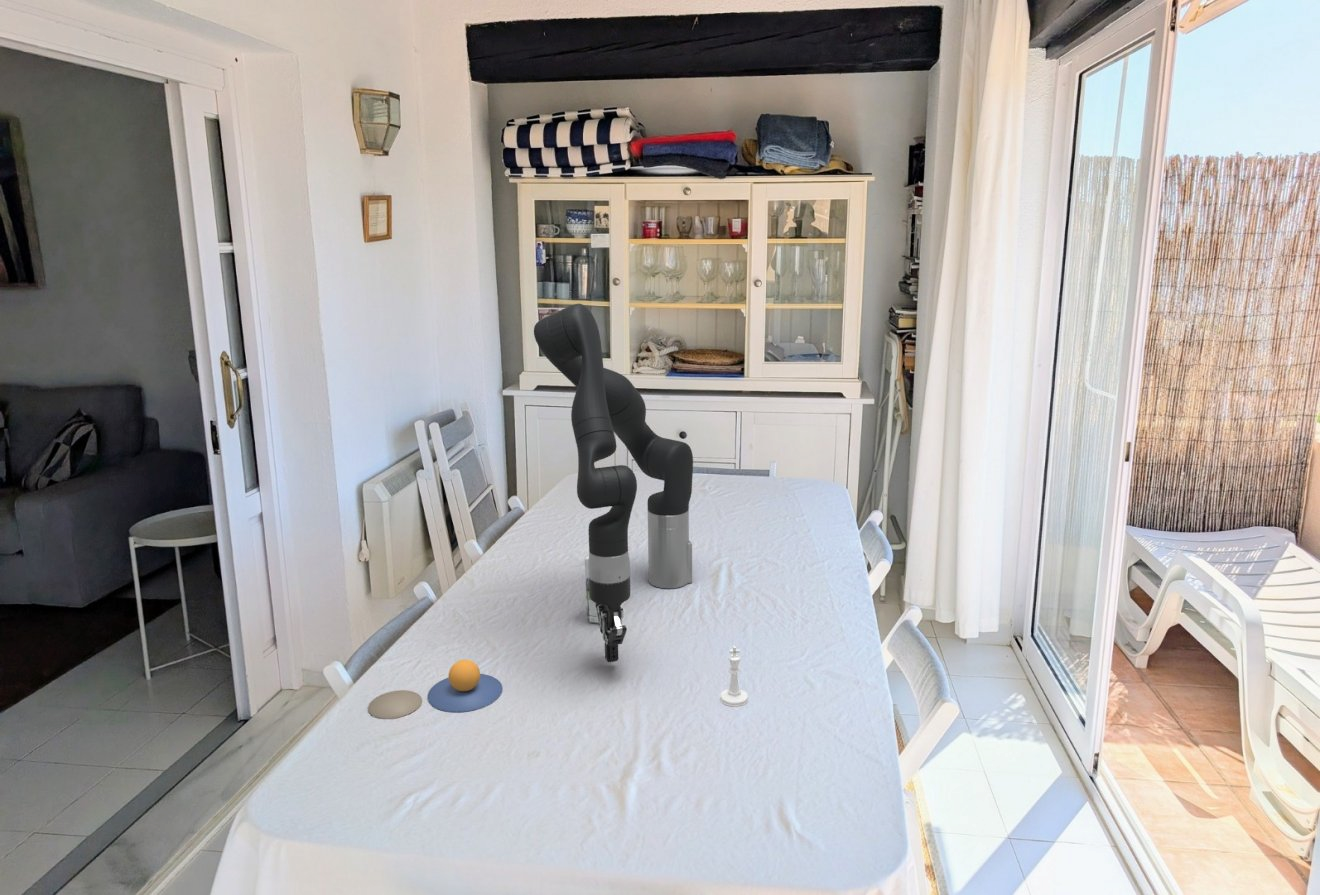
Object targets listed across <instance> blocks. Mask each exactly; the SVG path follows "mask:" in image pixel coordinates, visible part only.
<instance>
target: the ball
mask: <svg viewBox="0 0 1320 895" xmlns="http://www.w3.org/2000/svg"><path fill="white" fill-rule="evenodd" d="M480 674H481V671H480V668H479V666H478V664H476V663H475V662H474V661H473V660H470V659H461V660H458V661H456V662H455V663H453V665H451V667H450V669H449V671H448V678H449V681H450V684H451V685H452V687H453V688H455V689H456V690H458V691H469V690H471V689H473V688H474V687H475V686H476V685H477V684H478V682H479V679H480Z"/></svg>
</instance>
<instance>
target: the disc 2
mask: <svg viewBox="0 0 1320 895" xmlns="http://www.w3.org/2000/svg"><path fill="white" fill-rule="evenodd" d="M502 693H503V685H502V682H500V680H499V679H498V678H496V677H495V676H492V675H488V674H484V673H480V679H479V682H478V684H477V685H476V686H475V687H474V688H473V689H471V690H469V691H458V690H456V689H455V688H453V687H452V685H451V684H450V681H449V677H446V678H444V679H442V680H440V681H438V682H437V683H435V684H434V685H432V687H431V688H430V689H429V690H428V693H427V702H428V704H430V705H431V707H432V708H435V709H437V710H439V711H442V712H448V713H467V712H473V711H477V710H481V709H483V708H486V707H488V706H490V705H491V704H493V703H495V702H496V701H497V700H498V699H499V697H501V695H502Z"/></svg>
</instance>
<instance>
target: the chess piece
mask: <svg viewBox="0 0 1320 895" xmlns="http://www.w3.org/2000/svg"><path fill="white" fill-rule="evenodd" d="M729 654H730V655H729V656H728V661H729V664H730V666H729V667H728V669H727V671H728V673H730V674H731V676H730V682H729V687H728V688H726V689H724V690H723V691H721V692H720V696H719V701H720V702H721V703H722V704H723V705H726V706H728V707H736V708H737V707H742V706H744V705H746V704H747V703H748V702H749V695H748V693H747V692H746V691H745V690H743V689H741V688H740V686H739V679H738V677H739V676H738V674H739V673H741V672H742V671H741V668H740V667H739V663H740V661H741V656H740V655H738V654H740V649H737V647H736V646H735V645H733V646H732V649H729Z"/></svg>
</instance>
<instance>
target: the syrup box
mask: <svg viewBox="0 0 1320 895" xmlns="http://www.w3.org/2000/svg"><path fill="white" fill-rule="evenodd" d="M588 559H589V553H588V554H587V556H586V557H585V558H584V568H585V569H584V572H585V595H586V597H585V598H586V600H585V601H586V620H587V623H590V624H596V625H599V620H598V615H597V609H596V606H595V604H596V603H595V602H593V601H592V600H591V599H590V597H589V572H588ZM620 607H621V608H622V605H621V606H620Z"/></svg>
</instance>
